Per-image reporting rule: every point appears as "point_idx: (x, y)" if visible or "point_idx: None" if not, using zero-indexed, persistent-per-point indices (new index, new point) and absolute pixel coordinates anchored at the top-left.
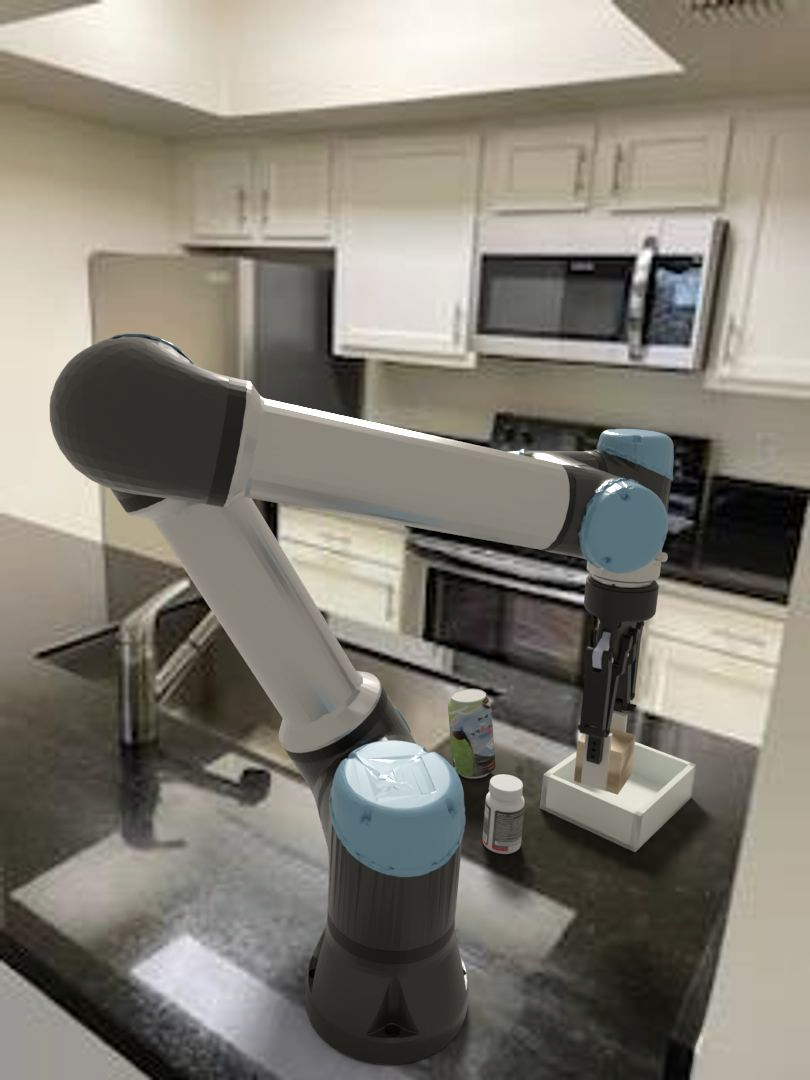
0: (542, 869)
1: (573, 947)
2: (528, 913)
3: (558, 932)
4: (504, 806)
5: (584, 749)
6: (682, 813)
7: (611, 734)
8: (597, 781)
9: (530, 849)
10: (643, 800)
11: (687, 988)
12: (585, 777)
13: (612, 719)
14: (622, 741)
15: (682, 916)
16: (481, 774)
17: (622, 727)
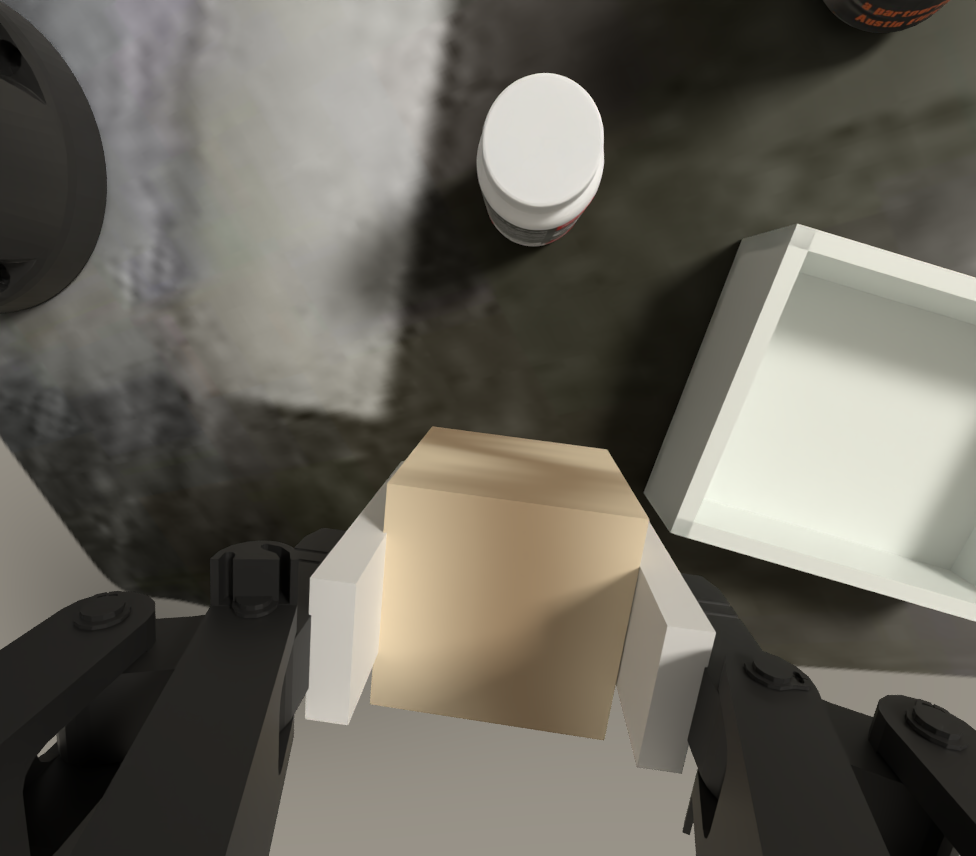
0: (482, 319)
1: (282, 436)
2: (325, 333)
3: (305, 401)
4: (483, 175)
5: (354, 521)
6: None
7: (335, 720)
8: None
9: (544, 271)
10: (874, 485)
11: None
12: None
13: (641, 661)
14: (496, 692)
15: None
16: (828, 4)
17: (623, 692)
